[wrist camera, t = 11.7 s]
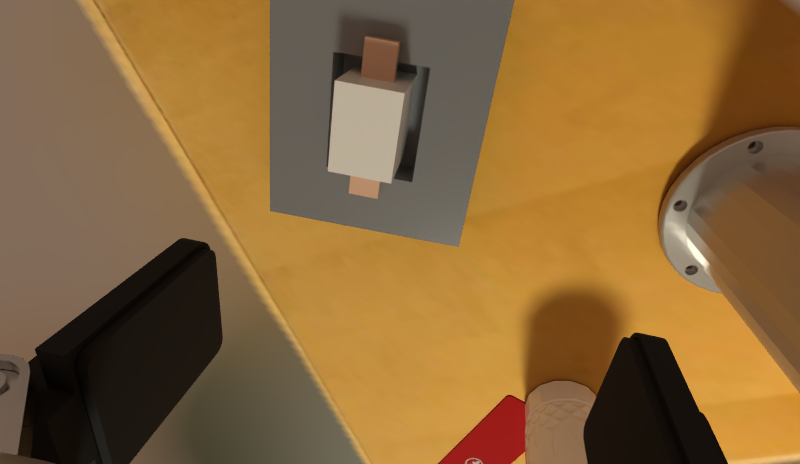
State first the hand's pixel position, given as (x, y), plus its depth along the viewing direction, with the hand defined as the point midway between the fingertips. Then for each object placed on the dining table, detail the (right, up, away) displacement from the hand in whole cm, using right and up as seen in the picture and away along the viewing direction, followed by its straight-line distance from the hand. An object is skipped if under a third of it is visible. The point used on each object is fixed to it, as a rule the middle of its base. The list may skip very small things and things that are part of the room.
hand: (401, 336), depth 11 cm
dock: (-1, +11, +23) cm, 26 cm away
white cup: (+15, -14, +34) cm, 40 cm away
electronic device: (+9, -20, +38) cm, 44 cm away
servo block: (-1, +11, +22) cm, 25 cm away
